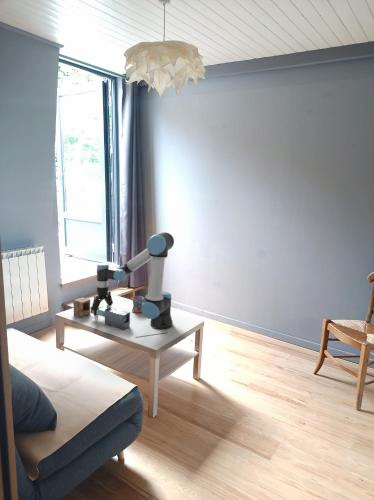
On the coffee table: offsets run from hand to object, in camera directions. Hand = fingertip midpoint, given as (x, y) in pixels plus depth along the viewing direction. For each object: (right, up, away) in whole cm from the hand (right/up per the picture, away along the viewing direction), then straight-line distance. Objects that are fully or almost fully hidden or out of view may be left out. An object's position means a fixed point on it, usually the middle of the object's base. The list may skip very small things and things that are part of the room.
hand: (102, 316), depth 254 cm
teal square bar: (+5, 0, -3) cm, 6 cm away
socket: (-17, -1, +10) cm, 19 cm away
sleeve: (+11, -5, -6) cm, 13 cm away
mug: (+22, 0, +23) cm, 32 cm away
